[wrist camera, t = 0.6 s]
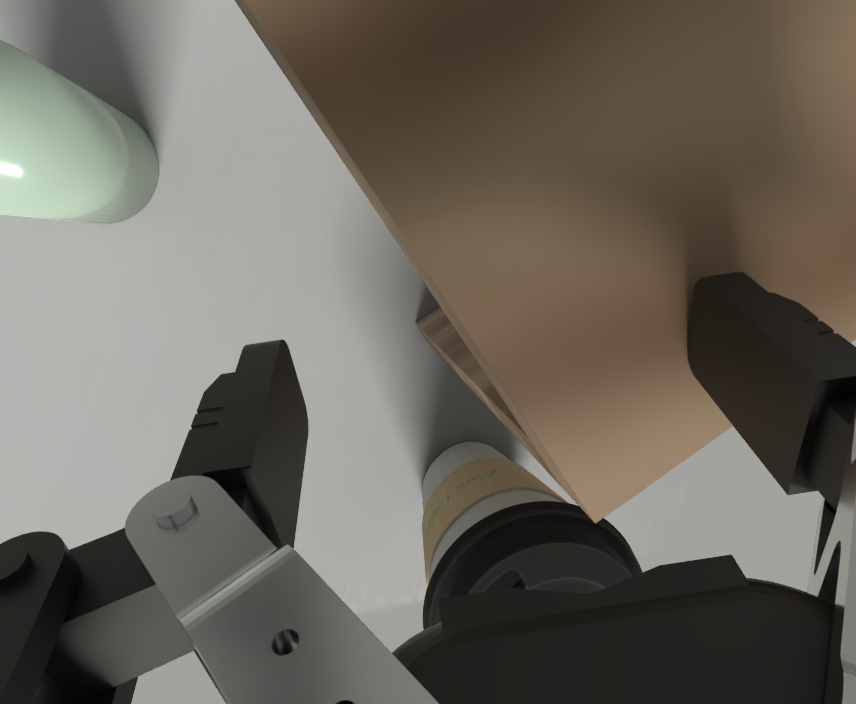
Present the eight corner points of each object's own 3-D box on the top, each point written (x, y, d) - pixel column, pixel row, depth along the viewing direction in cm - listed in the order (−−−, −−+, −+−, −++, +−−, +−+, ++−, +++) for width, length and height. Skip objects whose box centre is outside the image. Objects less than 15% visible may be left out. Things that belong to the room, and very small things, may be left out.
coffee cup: (423, 395, 37) (478, 495, 22) (563, 437, 38) (701, 556, 24) (374, 537, 38) (396, 722, 23) (513, 572, 40) (615, 764, 25)
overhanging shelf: (216, 33, 32) (-125, -556, 8) (405, -95, 32) (588, -1018, 9) (429, 343, 36) (595, 523, 13) (594, 228, 36) (1053, 198, 13)
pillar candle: (10, 147, 31) (-161, 96, 21) (107, 81, 31) (-12, -4, 21) (89, 245, 33) (-32, 246, 22) (182, 182, 33) (106, 151, 22)
